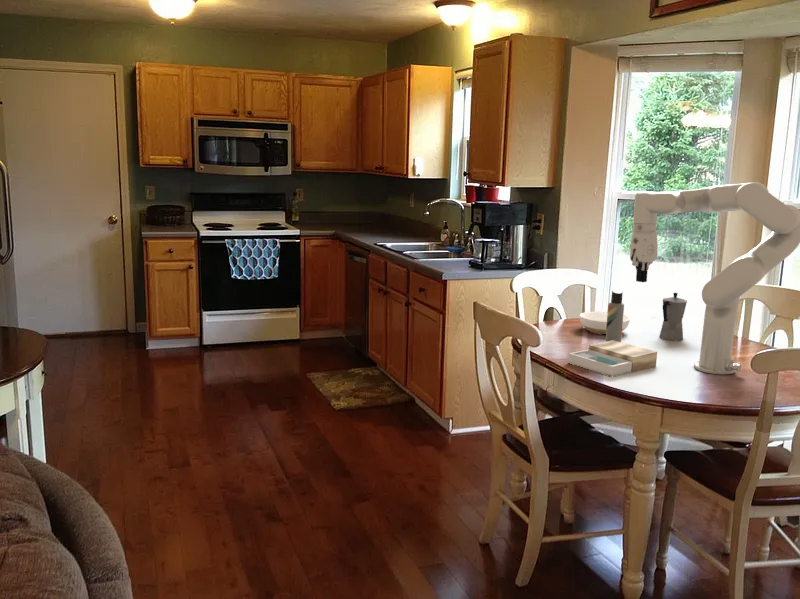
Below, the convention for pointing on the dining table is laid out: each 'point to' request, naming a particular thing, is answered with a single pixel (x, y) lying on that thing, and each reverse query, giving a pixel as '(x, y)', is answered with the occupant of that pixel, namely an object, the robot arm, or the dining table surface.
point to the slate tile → (586, 356)
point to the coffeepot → (673, 318)
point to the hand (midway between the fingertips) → (641, 281)
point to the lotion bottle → (615, 317)
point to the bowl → (598, 321)
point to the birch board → (627, 353)
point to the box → (600, 363)
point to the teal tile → (605, 360)
